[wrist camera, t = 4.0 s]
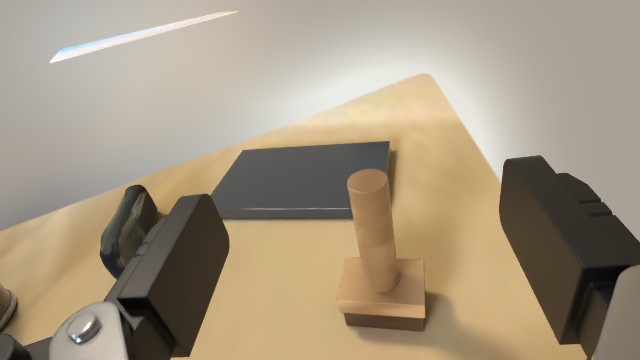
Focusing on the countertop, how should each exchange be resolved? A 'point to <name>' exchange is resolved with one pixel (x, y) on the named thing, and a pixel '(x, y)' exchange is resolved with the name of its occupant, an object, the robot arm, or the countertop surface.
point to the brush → (379, 264)
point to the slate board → (296, 181)
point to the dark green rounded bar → (127, 229)
